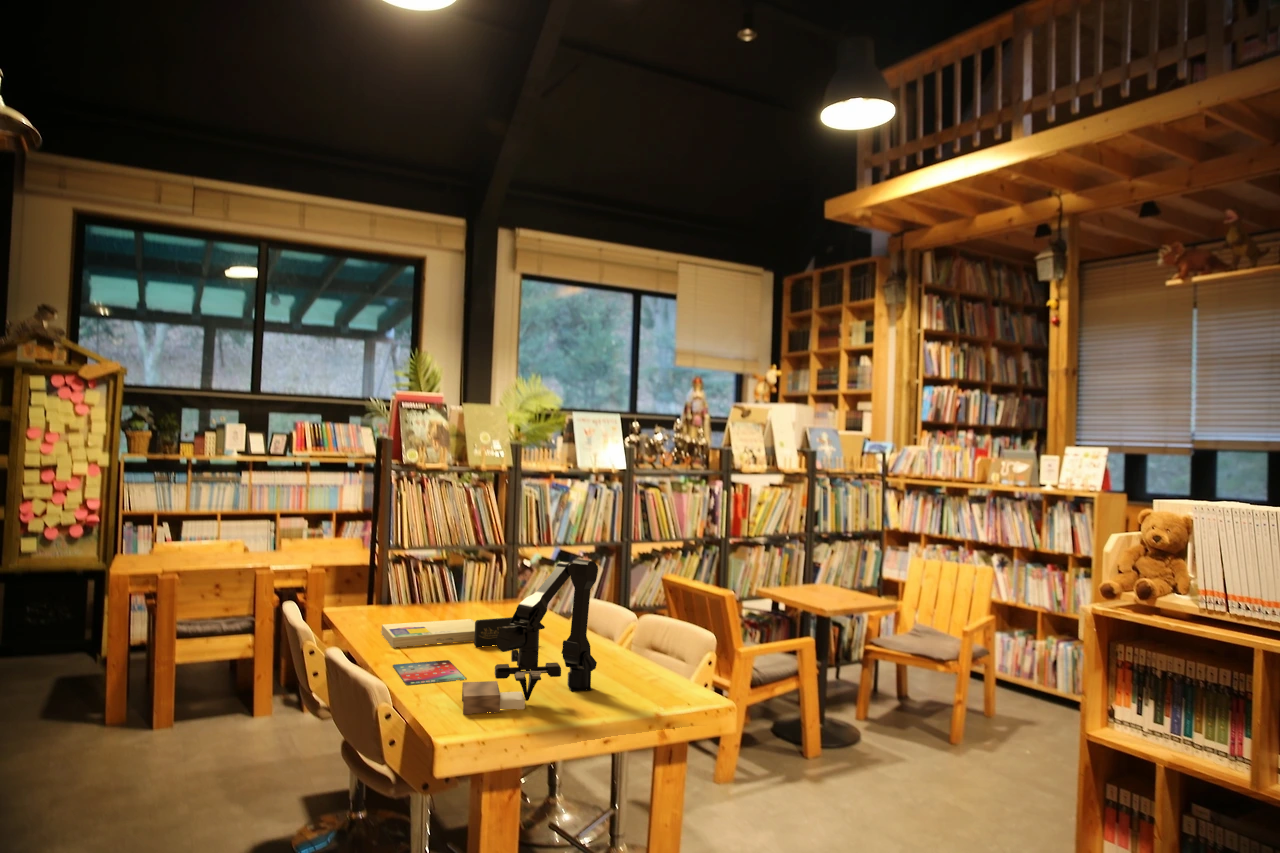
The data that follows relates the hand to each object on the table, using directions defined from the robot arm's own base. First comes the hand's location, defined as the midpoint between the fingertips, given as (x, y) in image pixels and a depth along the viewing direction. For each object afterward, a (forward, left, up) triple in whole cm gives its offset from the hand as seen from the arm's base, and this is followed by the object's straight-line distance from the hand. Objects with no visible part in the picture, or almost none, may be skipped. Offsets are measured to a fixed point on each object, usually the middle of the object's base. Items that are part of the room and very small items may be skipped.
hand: (526, 700), depth 238 cm
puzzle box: (+27, -89, -2) cm, 93 cm away
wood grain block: (+13, 0, -1) cm, 13 cm away
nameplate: (+2, -74, -2) cm, 74 cm away
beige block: (+6, 0, -2) cm, 6 cm away
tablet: (+28, -38, -2) cm, 47 cm away
